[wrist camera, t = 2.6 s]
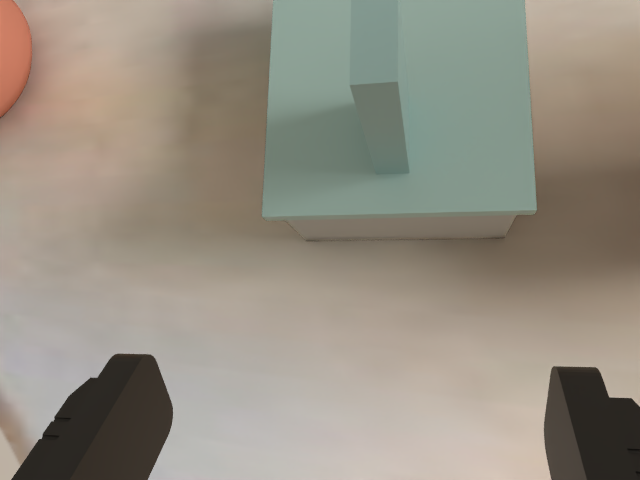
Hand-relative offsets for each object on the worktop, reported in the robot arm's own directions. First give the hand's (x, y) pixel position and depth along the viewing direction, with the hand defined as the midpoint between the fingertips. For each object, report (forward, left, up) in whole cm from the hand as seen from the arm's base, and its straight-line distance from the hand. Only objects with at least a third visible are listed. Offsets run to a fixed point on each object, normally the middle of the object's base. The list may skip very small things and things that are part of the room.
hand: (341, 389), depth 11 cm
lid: (-11, -12, -15) cm, 22 cm away
